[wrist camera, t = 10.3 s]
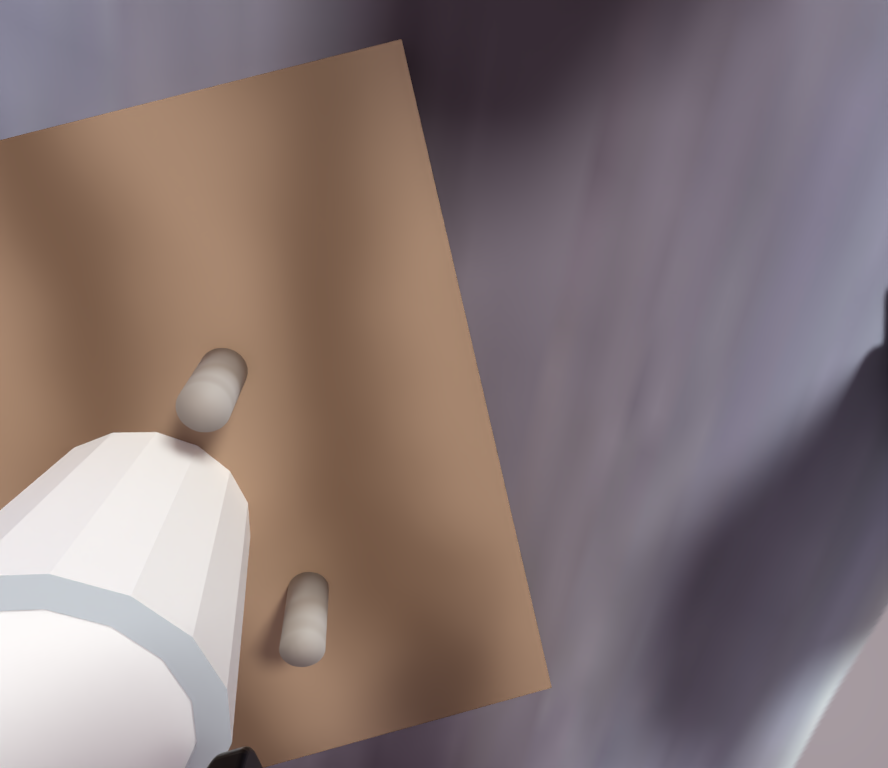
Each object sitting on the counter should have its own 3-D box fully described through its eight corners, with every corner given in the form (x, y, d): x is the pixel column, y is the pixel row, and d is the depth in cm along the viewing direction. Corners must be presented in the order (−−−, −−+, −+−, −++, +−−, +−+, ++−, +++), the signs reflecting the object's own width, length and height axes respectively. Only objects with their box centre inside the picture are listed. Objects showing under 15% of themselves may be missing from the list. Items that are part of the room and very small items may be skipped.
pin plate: (398, 43, 16) (409, 25, 13) (543, 665, 24) (573, 751, 21) (-440, 254, 16) (-647, 290, 12) (-19, 821, 23) (-80, 934, 20)
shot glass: (320, 488, 19) (302, 678, 13) (197, 656, 21) (124, 902, 14) (85, 360, 17) (-81, 507, 11) (-33, 557, 19) (-241, 792, 12)
